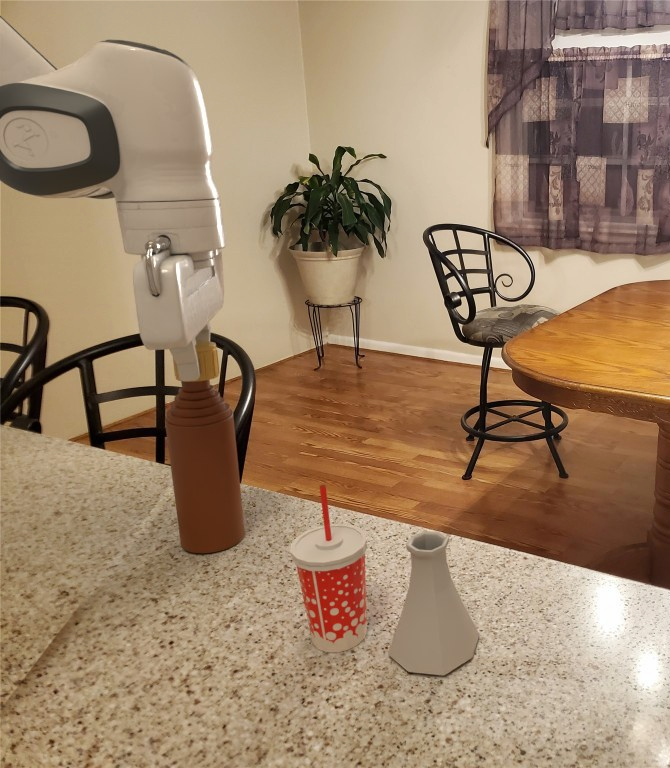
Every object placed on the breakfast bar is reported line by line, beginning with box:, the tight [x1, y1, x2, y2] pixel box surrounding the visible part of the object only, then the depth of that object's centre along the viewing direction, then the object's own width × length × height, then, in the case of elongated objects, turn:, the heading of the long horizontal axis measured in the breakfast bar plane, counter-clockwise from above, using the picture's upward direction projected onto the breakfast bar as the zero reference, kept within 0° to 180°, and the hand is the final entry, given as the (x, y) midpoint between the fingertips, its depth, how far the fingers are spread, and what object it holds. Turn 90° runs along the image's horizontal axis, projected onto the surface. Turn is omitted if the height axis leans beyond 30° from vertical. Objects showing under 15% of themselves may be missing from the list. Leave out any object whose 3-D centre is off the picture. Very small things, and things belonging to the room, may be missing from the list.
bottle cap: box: [172, 341, 220, 382], centre depth 69 cm, size 4×4×3 cm
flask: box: [387, 530, 480, 676], centre depth 55 cm, size 7×7×10 cm
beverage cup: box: [290, 484, 368, 653], centre depth 57 cm, size 6×6×14 cm
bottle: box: [164, 379, 246, 554], centre depth 71 cm, size 6×6×20 cm
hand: (196, 371), depth 69 cm, fingers closed on bottle cap, 4 cm apart
